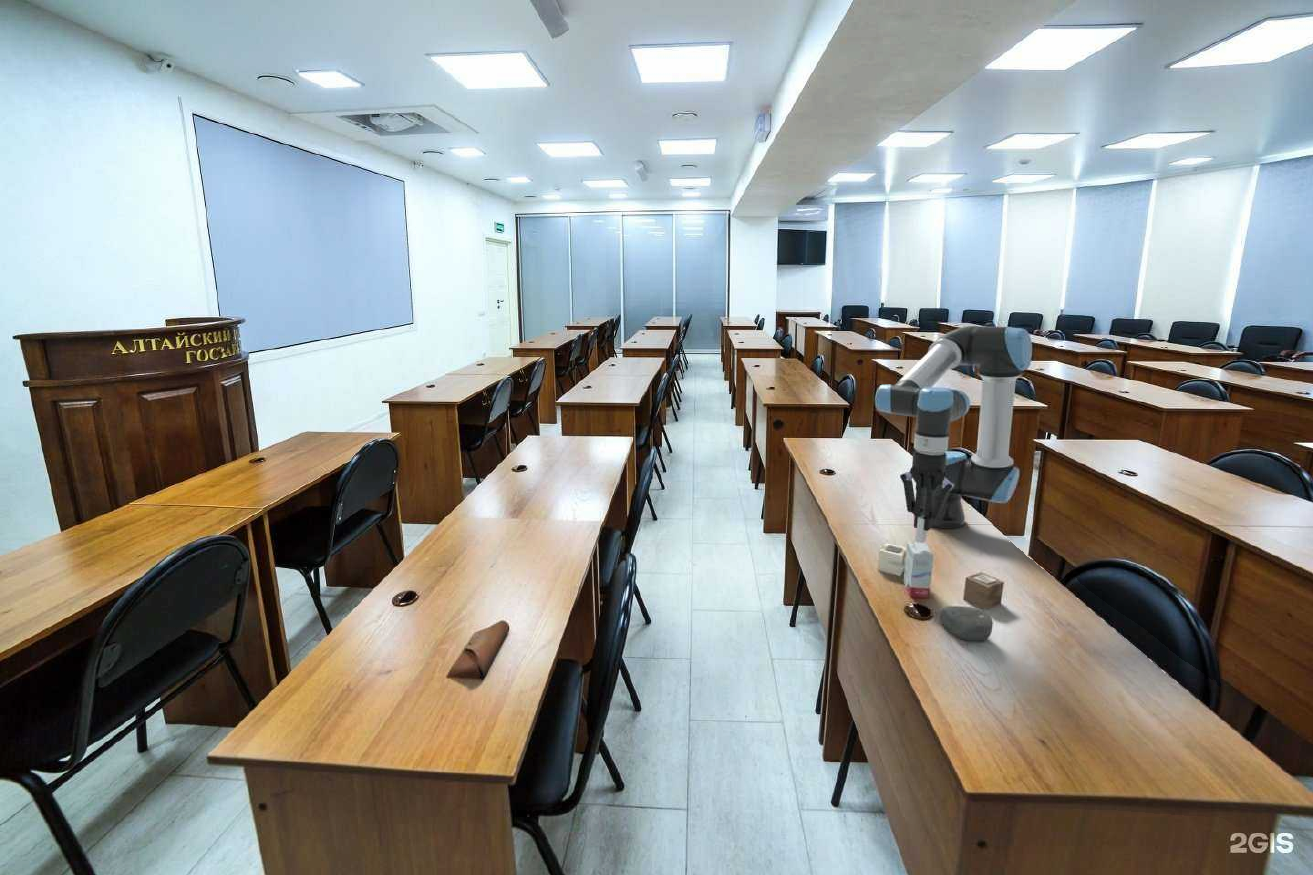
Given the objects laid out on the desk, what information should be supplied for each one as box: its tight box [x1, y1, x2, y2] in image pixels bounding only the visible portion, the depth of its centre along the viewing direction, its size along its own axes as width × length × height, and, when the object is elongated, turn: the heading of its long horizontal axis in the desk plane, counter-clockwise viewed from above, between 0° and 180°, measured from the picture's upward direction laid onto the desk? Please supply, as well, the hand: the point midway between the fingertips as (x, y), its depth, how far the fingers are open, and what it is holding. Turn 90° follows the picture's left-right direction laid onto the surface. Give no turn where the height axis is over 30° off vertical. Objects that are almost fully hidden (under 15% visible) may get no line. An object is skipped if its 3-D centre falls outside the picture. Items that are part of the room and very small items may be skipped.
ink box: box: [903, 540, 934, 599], centre depth 158 cm, size 9×5×12 cm, turn 168°
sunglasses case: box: [446, 620, 510, 681], centre depth 134 cm, size 18×7×7 cm
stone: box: [938, 605, 994, 642], centre depth 140 cm, size 9×9×10 cm
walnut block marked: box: [963, 571, 1005, 611], centre depth 153 cm, size 6×6×6 cm
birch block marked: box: [877, 542, 907, 577], centre depth 171 cm, size 6×6×6 cm
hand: (920, 540), depth 156 cm, fingers closed
